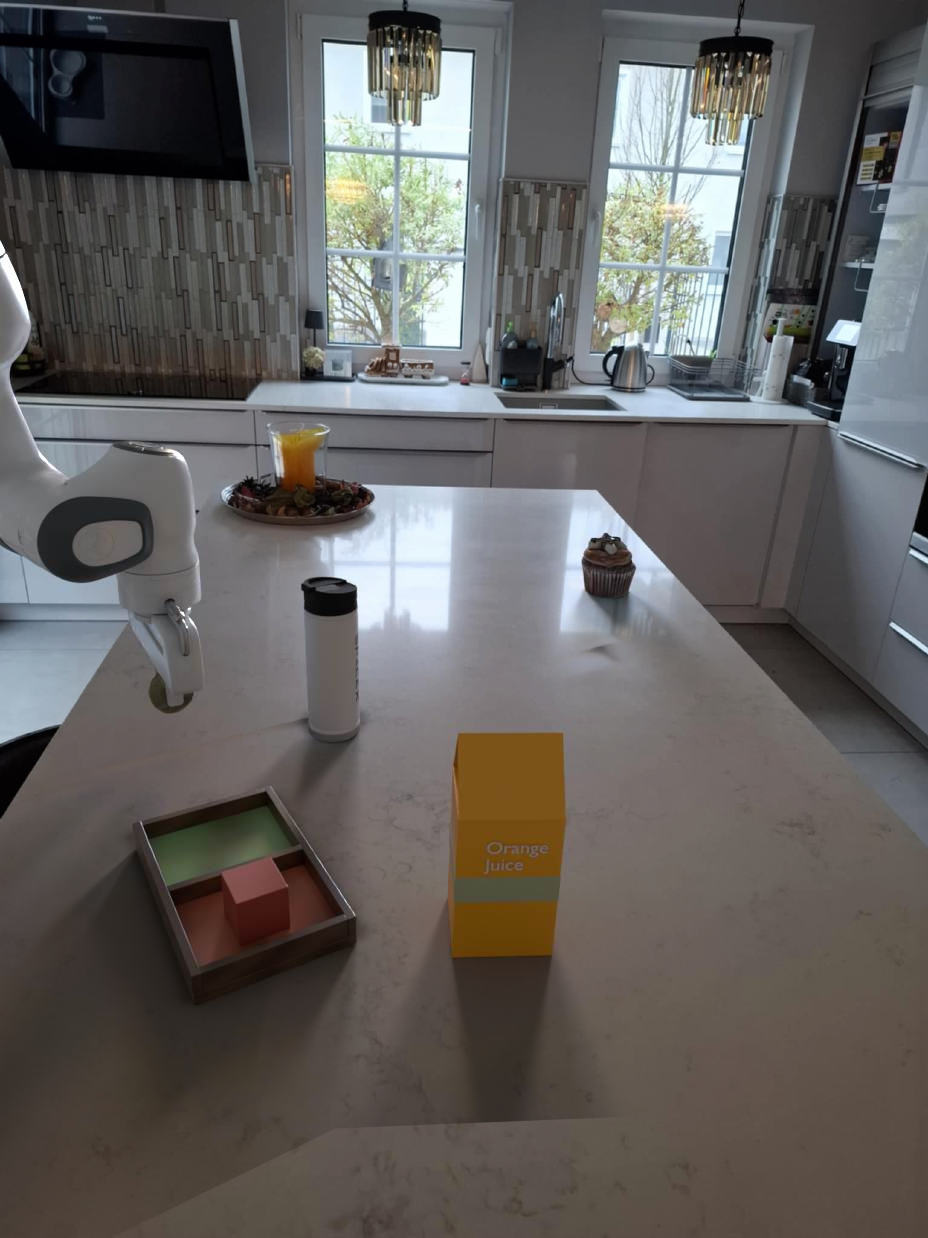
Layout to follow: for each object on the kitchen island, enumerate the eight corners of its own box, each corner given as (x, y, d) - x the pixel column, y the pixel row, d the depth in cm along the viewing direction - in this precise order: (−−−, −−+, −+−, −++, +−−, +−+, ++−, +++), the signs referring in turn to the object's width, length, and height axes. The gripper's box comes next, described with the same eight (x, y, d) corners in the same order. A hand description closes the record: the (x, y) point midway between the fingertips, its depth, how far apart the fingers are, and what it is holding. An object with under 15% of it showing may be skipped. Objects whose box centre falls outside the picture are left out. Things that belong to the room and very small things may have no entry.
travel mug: (297, 728, 108) (289, 577, 100) (342, 712, 112) (338, 566, 104) (323, 749, 104) (318, 594, 96) (369, 732, 108) (368, 582, 100)
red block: (239, 946, 73) (236, 904, 71) (224, 913, 77) (220, 872, 75) (290, 928, 75) (288, 886, 74) (273, 896, 79) (270, 856, 77)
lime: (199, 704, 105) (197, 667, 103) (171, 722, 101) (168, 684, 99) (171, 695, 106) (168, 658, 104) (142, 712, 102) (138, 674, 100)
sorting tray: (194, 1005, 69) (191, 977, 68) (135, 848, 86) (132, 823, 85) (356, 943, 76) (356, 916, 74) (272, 808, 93) (270, 785, 92)
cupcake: (621, 604, 150) (627, 548, 146) (570, 591, 154) (575, 537, 150) (641, 587, 157) (648, 534, 153) (592, 576, 162) (597, 524, 158)
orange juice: (446, 896, 81) (453, 709, 73) (539, 894, 82) (557, 709, 74) (451, 959, 74) (459, 760, 66) (553, 957, 75) (574, 759, 67)
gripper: (215, 614, 91) (222, 728, 97) (165, 554, 107) (174, 655, 113) (153, 624, 88) (164, 742, 94) (111, 561, 104) (123, 664, 109)
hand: (169, 694), depth 103 cm, fingers closed on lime, 3 cm apart
